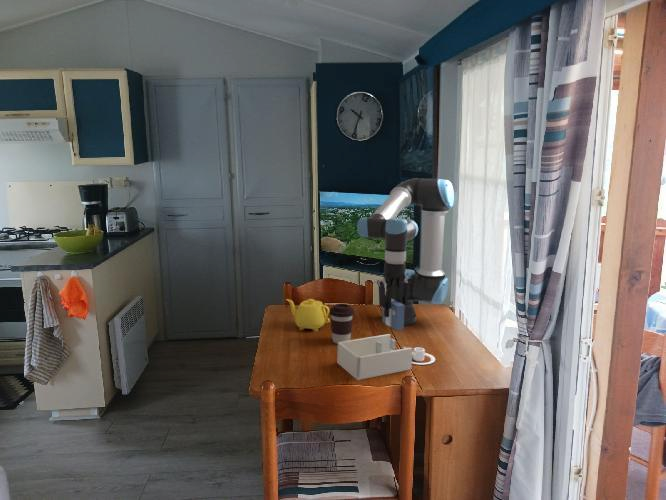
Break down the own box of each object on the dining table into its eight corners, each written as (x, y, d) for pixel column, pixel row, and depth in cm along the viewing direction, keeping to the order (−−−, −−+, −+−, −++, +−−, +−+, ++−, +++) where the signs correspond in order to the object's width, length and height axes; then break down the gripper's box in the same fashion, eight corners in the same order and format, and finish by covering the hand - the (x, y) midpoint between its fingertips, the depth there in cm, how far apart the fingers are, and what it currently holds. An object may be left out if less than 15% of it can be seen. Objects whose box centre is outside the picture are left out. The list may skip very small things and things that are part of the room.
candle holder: (420, 351, 215) (421, 341, 214) (441, 362, 205) (442, 351, 204) (396, 357, 209) (397, 346, 208) (417, 368, 199) (417, 357, 198)
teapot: (325, 334, 231) (325, 305, 228) (280, 329, 236) (280, 301, 233) (334, 324, 244) (334, 296, 241) (291, 319, 249) (291, 292, 246)
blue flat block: (389, 320, 205) (390, 297, 203) (403, 329, 196) (404, 305, 194) (381, 322, 204) (382, 298, 202) (395, 330, 195) (396, 306, 193)
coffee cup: (351, 346, 218) (351, 310, 215) (326, 344, 220) (327, 308, 217) (355, 337, 228) (355, 303, 225) (331, 336, 229) (332, 301, 226)
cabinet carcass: (388, 353, 212) (389, 333, 210) (411, 369, 197) (412, 348, 196) (337, 362, 202) (337, 342, 201) (357, 380, 188) (357, 358, 187)
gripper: (408, 257, 202) (405, 318, 207) (370, 261, 195) (368, 324, 200) (420, 262, 195) (417, 324, 200) (380, 265, 189) (378, 330, 193)
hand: (392, 324), depth 200 cm, fingers closed on blue flat block, 3 cm apart
